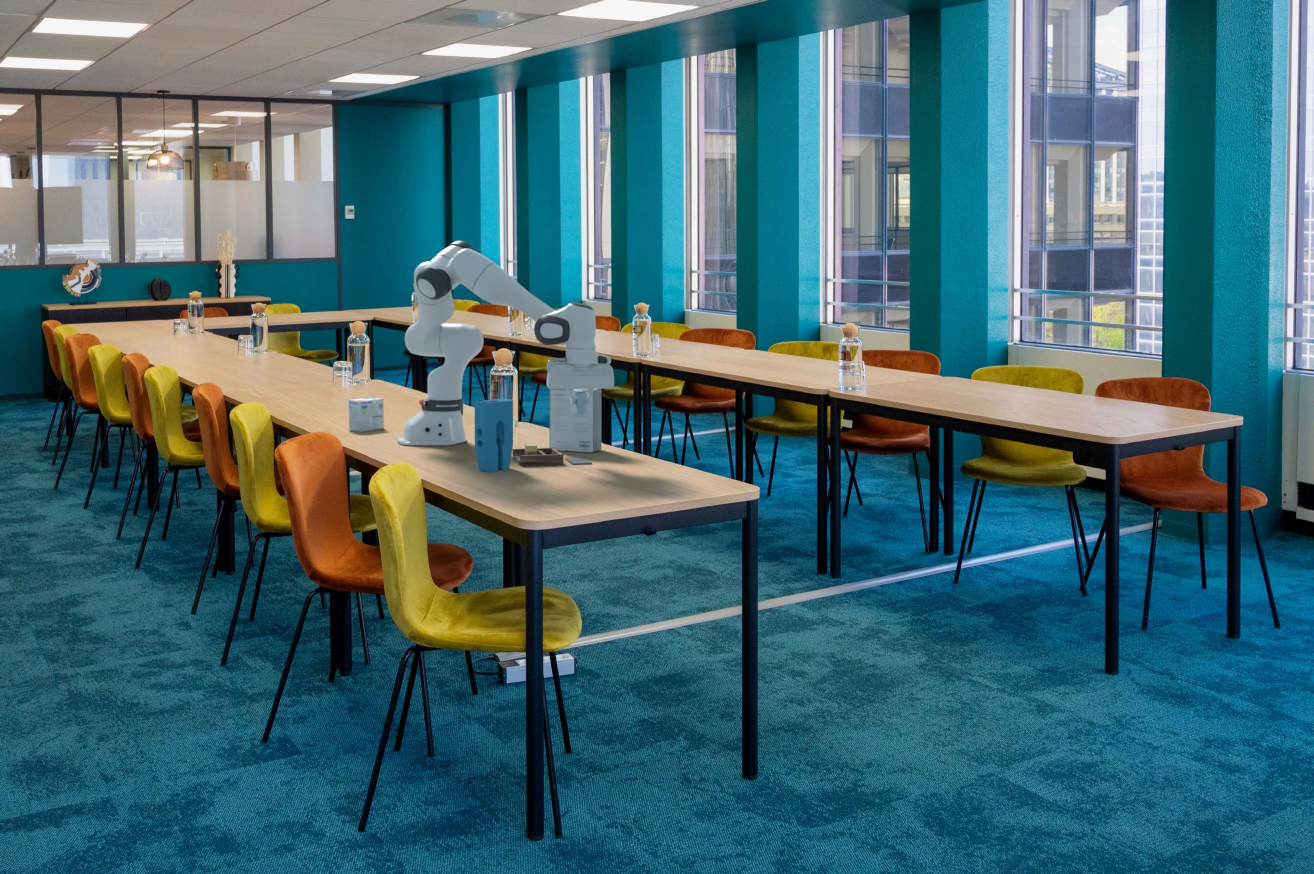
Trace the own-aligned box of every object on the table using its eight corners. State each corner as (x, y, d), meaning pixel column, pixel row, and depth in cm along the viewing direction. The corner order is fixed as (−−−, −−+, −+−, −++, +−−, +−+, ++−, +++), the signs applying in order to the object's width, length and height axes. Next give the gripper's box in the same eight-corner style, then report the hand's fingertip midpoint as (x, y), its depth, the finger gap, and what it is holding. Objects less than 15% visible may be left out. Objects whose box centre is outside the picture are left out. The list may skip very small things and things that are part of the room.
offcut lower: (527, 457, 378) (527, 451, 378) (524, 455, 382) (524, 449, 382) (537, 457, 379) (537, 451, 379) (534, 455, 383) (534, 449, 383)
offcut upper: (527, 451, 378) (527, 445, 378) (524, 449, 382) (524, 443, 382) (537, 451, 379) (537, 445, 379) (534, 449, 383) (534, 443, 383)
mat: (572, 464, 375) (572, 463, 375) (564, 459, 384) (564, 457, 384) (591, 464, 376) (591, 462, 376) (583, 458, 386) (583, 457, 386)
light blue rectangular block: (577, 414, 373) (577, 392, 372) (570, 410, 382) (570, 389, 381) (586, 414, 374) (586, 392, 373) (578, 410, 382) (579, 389, 381)
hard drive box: (602, 449, 403) (602, 388, 400) (593, 453, 395) (593, 390, 392) (557, 446, 408) (558, 385, 405) (548, 450, 400) (548, 388, 397)
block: (501, 465, 371) (501, 398, 368) (514, 467, 369) (514, 400, 366) (473, 470, 362) (473, 402, 359) (486, 472, 359) (485, 403, 356)
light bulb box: (371, 426, 444) (371, 396, 442) (384, 428, 440) (384, 398, 438) (348, 430, 435) (347, 399, 434) (361, 432, 431) (360, 401, 430)
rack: (512, 458, 383) (512, 448, 383) (554, 457, 387) (554, 447, 387) (520, 466, 371) (520, 456, 371) (563, 464, 375) (563, 454, 374)
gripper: (548, 359, 367) (548, 405, 369) (616, 358, 373) (615, 404, 375) (544, 357, 373) (543, 403, 375) (610, 356, 379) (610, 401, 381)
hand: (580, 403), depth 375 cm, fingers closed on light blue rectangular block, 3 cm apart
